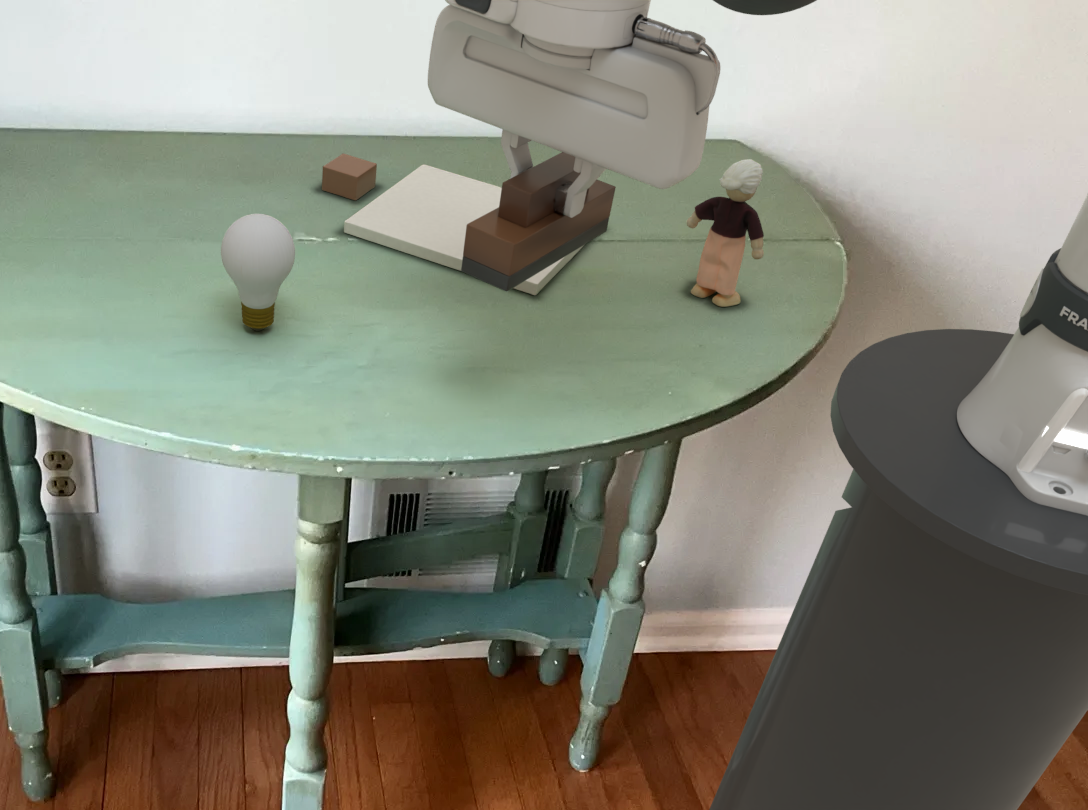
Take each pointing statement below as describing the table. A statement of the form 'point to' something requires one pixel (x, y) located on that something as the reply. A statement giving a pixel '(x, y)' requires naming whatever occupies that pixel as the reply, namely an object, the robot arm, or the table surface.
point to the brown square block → (349, 176)
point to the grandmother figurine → (728, 233)
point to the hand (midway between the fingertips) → (544, 203)
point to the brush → (533, 225)
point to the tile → (435, 219)
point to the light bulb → (258, 264)
